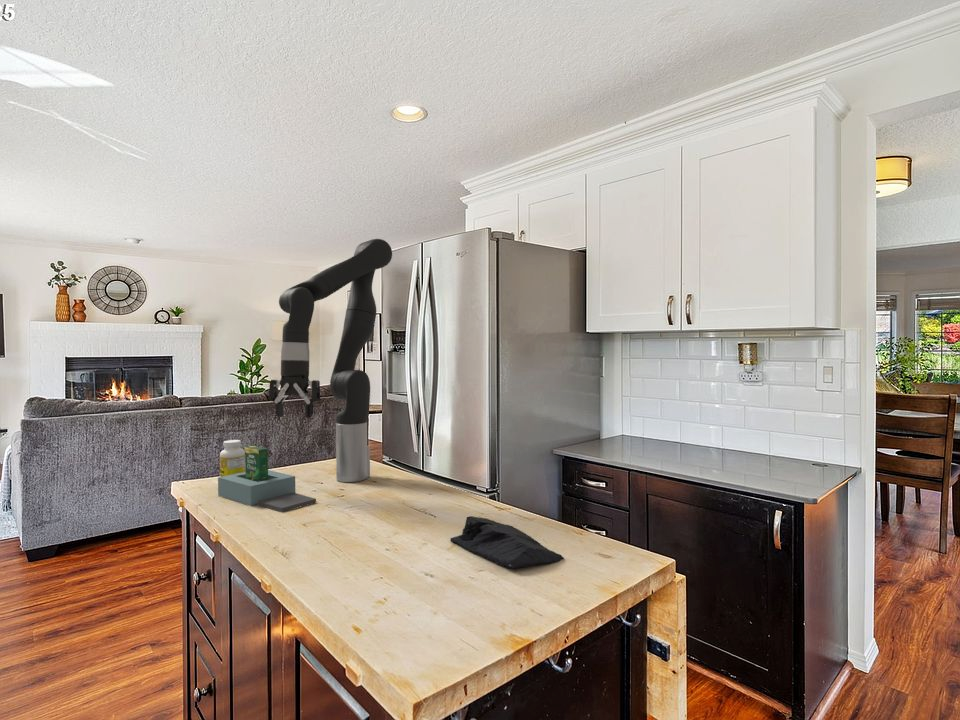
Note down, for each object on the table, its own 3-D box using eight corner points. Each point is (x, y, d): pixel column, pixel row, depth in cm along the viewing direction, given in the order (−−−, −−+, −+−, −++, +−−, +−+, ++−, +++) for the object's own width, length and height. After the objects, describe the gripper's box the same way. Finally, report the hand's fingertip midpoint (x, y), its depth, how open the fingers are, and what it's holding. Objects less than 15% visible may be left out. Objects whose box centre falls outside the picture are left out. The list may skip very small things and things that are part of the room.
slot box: (262, 485, 155) (262, 468, 155) (295, 494, 146) (295, 476, 146) (218, 495, 145) (217, 477, 145) (250, 505, 135) (250, 486, 135)
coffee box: (244, 493, 147) (244, 446, 147) (254, 491, 149) (254, 444, 149) (258, 499, 142) (258, 449, 141) (269, 496, 144) (268, 448, 143)
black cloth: (501, 580, 93) (501, 553, 92) (445, 541, 112) (445, 518, 112) (570, 562, 100) (570, 537, 100) (506, 528, 119) (506, 507, 119)
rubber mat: (292, 496, 144) (292, 492, 144) (316, 502, 138) (316, 498, 138) (258, 505, 136) (258, 501, 136) (281, 512, 130) (281, 508, 130)
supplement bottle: (220, 483, 158) (219, 440, 158) (244, 481, 161) (244, 438, 161) (220, 488, 152) (219, 443, 152) (245, 486, 155) (244, 442, 154)
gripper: (325, 359, 152) (324, 416, 152) (279, 359, 155) (277, 415, 154) (312, 359, 145) (311, 419, 144) (264, 358, 147) (263, 417, 147)
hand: (294, 417), depth 149 cm, fingers open, 8 cm apart
